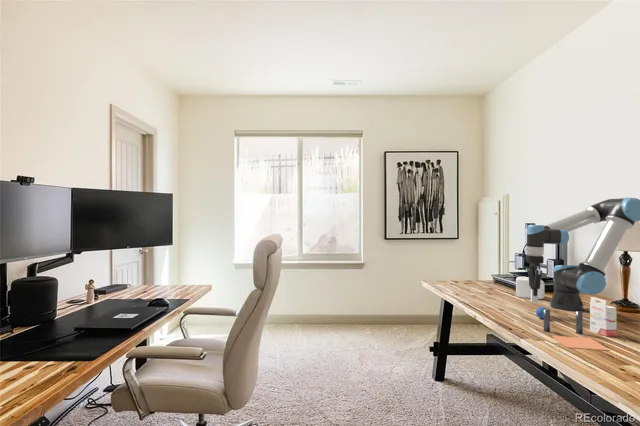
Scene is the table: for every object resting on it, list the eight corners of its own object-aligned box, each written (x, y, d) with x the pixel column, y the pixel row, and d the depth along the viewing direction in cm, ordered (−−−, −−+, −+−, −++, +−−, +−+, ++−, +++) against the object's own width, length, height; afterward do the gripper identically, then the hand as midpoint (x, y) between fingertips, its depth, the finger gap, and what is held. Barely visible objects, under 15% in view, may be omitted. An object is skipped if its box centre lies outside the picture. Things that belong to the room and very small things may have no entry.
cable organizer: (543, 297, 229) (543, 278, 229) (544, 300, 220) (544, 280, 220) (516, 294, 236) (516, 276, 236) (515, 297, 227) (515, 278, 227)
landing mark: (590, 338, 149) (590, 338, 149) (610, 350, 135) (610, 350, 135) (551, 336, 151) (551, 335, 151) (567, 347, 138) (567, 347, 138)
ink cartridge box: (617, 336, 152) (617, 300, 152) (606, 336, 151) (606, 300, 151) (600, 330, 160) (600, 296, 160) (589, 330, 160) (589, 296, 160)
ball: (546, 317, 181) (546, 306, 181) (551, 320, 175) (551, 308, 175) (534, 316, 182) (534, 305, 182) (538, 319, 176) (538, 308, 176)
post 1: (548, 330, 159) (548, 309, 159) (551, 332, 157) (551, 310, 157) (542, 330, 159) (542, 309, 160) (544, 331, 157) (544, 310, 157)
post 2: (581, 332, 157) (581, 311, 157) (583, 334, 154) (583, 312, 154) (574, 332, 157) (574, 310, 157) (577, 333, 155) (577, 312, 155)
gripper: (522, 253, 195) (521, 298, 195) (531, 256, 182) (530, 304, 182) (538, 254, 194) (537, 299, 193) (548, 256, 181) (547, 305, 181)
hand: (534, 301), depth 188 cm, fingers closed
